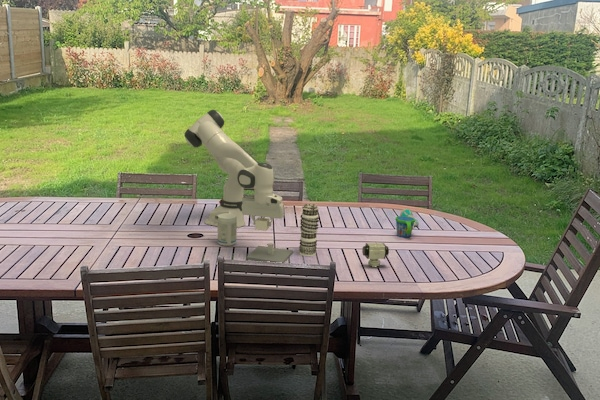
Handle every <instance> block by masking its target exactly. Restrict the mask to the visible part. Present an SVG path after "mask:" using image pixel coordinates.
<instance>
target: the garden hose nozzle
mask: <svg viewBox="0 0 600 400" xmlns="http://www.w3.org/2000/svg"><path fill="white" fill-rule="evenodd" d="M399 216H408V217H412V218H414V214H413V212H412V210H411V209H409V208H405V207H404V208H403V209H402V210H401V211H400V214H399ZM414 219H415V222H414V224H413V228H412V230H414V229H415V227H417V226H418V225H419V221H418V220H417V219H416V218H414Z"/></svg>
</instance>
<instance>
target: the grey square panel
mask: <svg viewBox="0 0 600 400" xmlns="http://www.w3.org/2000/svg"><path fill="white" fill-rule="evenodd" d="M293 253H294V250H293V249H292V250H291V249H285V248H278V247H274V243H273V242H269V243H268V244H267V246H264V245H257V246H256V247H255V248H254V249H253V250H252V251H251V252H250V253H249V254H248V255H247V256H246V260H247V259H248V261H253V260H254V261H255V262H260V261H270V262H282V263H284V262H285V261H286V262H287V260H289V258H290V257H291V256H292V255H293ZM286 262H285V263H286ZM285 263H284V264H285Z"/></svg>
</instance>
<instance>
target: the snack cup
mask: <svg viewBox="0 0 600 400" xmlns="http://www.w3.org/2000/svg"><path fill="white" fill-rule="evenodd" d="M415 219H416V218H415ZM415 219H414V218H412V217H408V216H400V215H398V216H396V217H395V222H396V223H395V224H396V225H395V226H396V235H397V236H398V237H401V238H410V237H411V235H412V231H413V229H412V228H413V224H414V222H415Z"/></svg>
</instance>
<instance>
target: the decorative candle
mask: <svg viewBox="0 0 600 400" xmlns="http://www.w3.org/2000/svg"><path fill="white" fill-rule="evenodd" d="M301 208H302V213H301V215H300V218H301V219H300V232H301V233H300V238H299V241H300V242H299V246H298V247H299V249H298V253H299V255H300V256H303V257H315V256H316V255H317V242H318V240H317V233H318V229H319V227H318V226H319V224H318V223H319V222H320V220H319V219H320V217H319V207H318V205H316V204H314V203H306V204H304V205H303V206H302V207H301Z"/></svg>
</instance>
